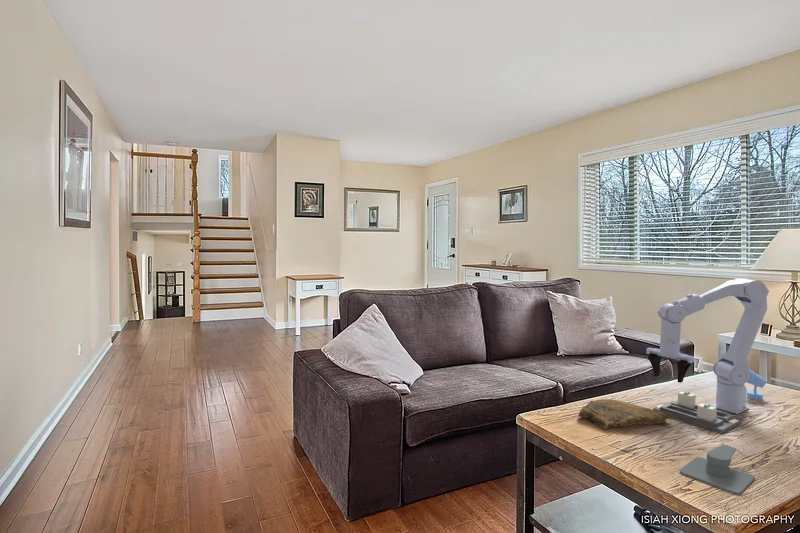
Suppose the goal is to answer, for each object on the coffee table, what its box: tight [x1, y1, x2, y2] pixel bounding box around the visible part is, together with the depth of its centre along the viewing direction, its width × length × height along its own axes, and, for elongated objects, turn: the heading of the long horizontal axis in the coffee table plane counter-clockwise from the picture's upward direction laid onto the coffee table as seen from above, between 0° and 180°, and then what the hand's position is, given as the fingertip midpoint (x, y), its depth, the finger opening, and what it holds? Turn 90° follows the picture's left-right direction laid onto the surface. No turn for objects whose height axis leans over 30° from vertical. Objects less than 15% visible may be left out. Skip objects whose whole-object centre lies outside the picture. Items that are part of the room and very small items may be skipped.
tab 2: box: [697, 403, 718, 422], centre depth 139 cm, size 3×4×5 cm
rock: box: [578, 398, 672, 431], centre depth 142 cm, size 25×6×20 cm
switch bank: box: [652, 399, 742, 434], centre depth 145 cm, size 13×20×2 cm, turn 33°
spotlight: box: [746, 369, 767, 401], centre depth 164 cm, size 5×10×7 cm
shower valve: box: [679, 443, 756, 496], centre depth 110 cm, size 12×6×15 cm
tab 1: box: [677, 390, 696, 408], centre depth 150 cm, size 3×4×5 cm
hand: (668, 378), depth 154 cm, fingers open, 7 cm apart
